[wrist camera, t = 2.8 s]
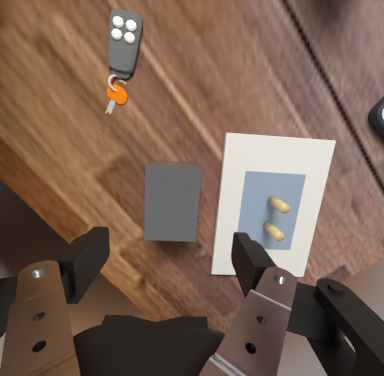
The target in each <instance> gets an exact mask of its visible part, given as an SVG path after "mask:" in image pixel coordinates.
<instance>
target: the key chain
mask: <svg viewBox="0 0 384 376" xmlns="http://www.w3.org/2000/svg"><path fill="white" fill-rule="evenodd" d="M142 30H143V21H142V18H140V17H139V16H138V15H137V14H135V13H132V12H129V11H125V10H121V9H114V10H112V11H111V15H110V23H109V43H108V65H109V67H110V68H111V73H112V74H113V75H111V76H110V77H109V79H108V84H109V87H108V88H107V95H108V97H109V98H110V99H111V101H110V103H109V105H108V109H107V111H106V112H105V113H107V112H110V113H109V114H111V112H112V109H113V107H114V105H115V103H117V104H124V103H126V101H127V98H128V97H127V93H126V92H125V90H124V89H123V88H121V87H120V86H118V85H111V79H112V78H113V77H118V78H120V79H121V78H124V79H128V78H130V74H132V73H133V71H134V69H135V65H136V60H137V55H138V50H139V45H140V40H141V35H142ZM119 82H123V83H124V84H125V85H126V83H125V82H124V81H122V80H120V81H119Z"/></svg>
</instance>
